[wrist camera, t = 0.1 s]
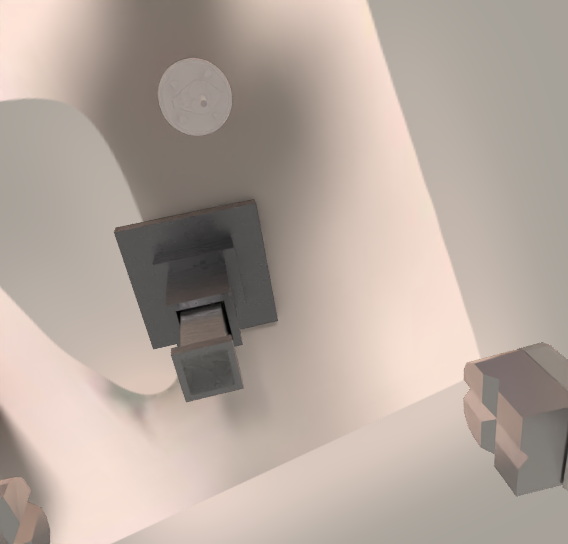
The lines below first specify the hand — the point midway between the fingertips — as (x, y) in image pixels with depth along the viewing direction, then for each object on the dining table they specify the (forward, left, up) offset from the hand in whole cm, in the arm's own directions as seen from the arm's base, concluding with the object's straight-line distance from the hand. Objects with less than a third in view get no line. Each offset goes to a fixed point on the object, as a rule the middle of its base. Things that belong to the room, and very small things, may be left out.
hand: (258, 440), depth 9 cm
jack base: (+19, -4, -48) cm, 52 cm away
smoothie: (-2, 0, -48) cm, 48 cm away
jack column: (+19, -4, -46) cm, 50 cm away
